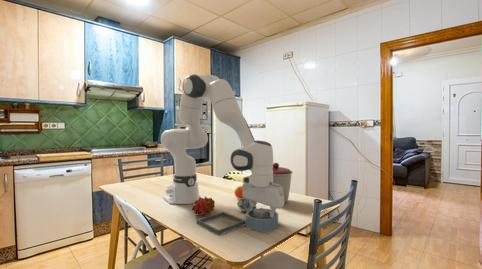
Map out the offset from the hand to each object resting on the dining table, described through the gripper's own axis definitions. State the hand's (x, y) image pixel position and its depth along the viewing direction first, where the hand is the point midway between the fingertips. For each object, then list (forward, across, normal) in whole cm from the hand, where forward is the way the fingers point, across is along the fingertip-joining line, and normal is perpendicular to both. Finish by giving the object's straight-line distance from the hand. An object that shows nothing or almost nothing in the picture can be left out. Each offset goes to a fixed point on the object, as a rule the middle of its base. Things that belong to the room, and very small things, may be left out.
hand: (261, 213), depth 100 cm
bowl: (+5, 0, 0) cm, 5 cm away
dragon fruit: (+5, +26, +11) cm, 29 cm away
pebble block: (+4, 0, 0) cm, 4 cm away
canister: (+5, +15, -28) cm, 32 cm away
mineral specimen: (+5, +17, -8) cm, 19 cm away
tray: (+5, +12, +12) cm, 18 cm away
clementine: (+5, +32, -18) cm, 37 cm away
